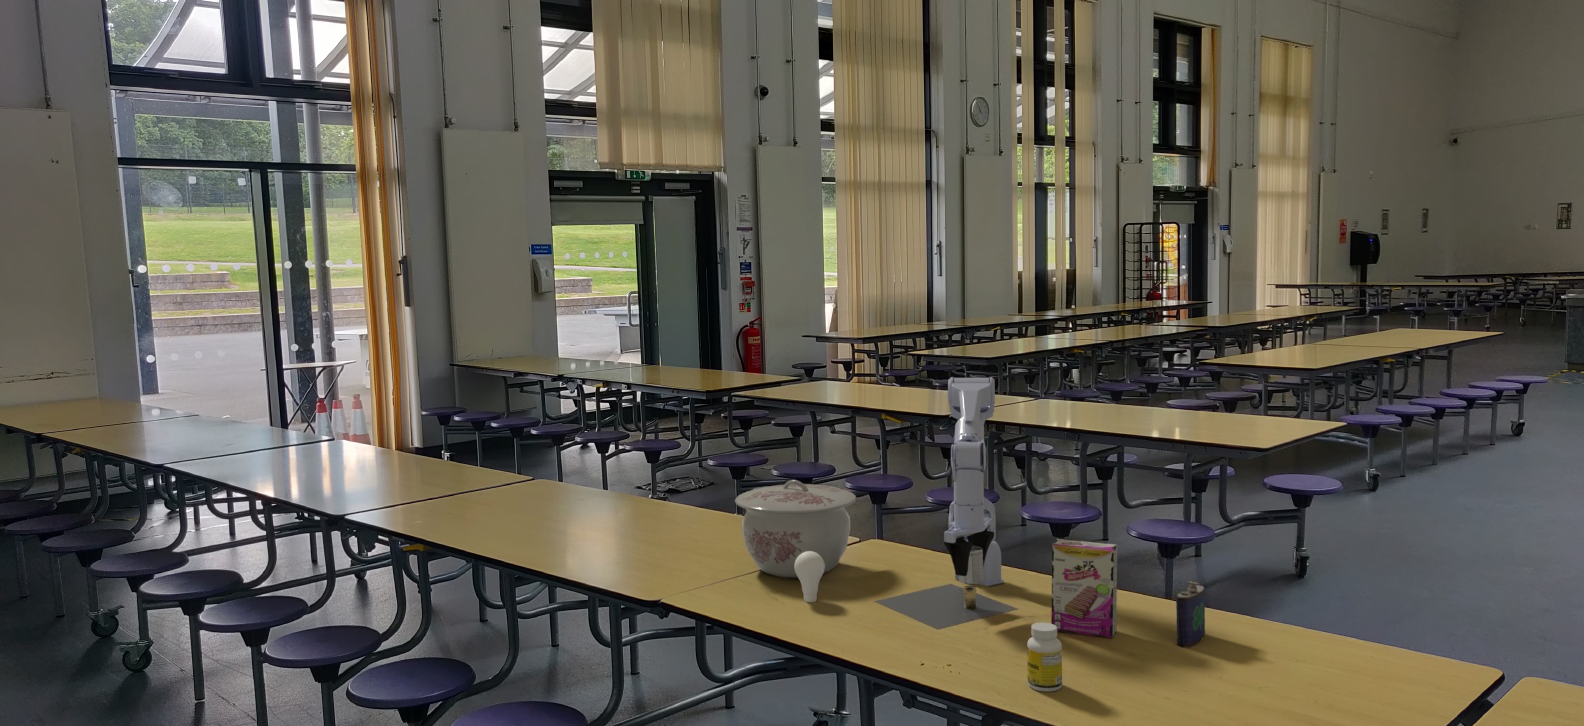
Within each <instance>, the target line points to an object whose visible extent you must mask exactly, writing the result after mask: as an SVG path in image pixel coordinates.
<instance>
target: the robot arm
mask: <svg viewBox="0 0 1584 726" xmlns="http://www.w3.org/2000/svg"><path fill="white" fill-rule="evenodd" d="M947 380H948V383H947V401H948V406H949V413H950V416H951V417H953V419H956V421H957V422H956V423H955V426H954V428H955V429H954V439H953V441H954V442H953V443H952V444H951V446H950V447H951V448H950V465H951V471H952V481H954V482H953V501H952V502H951V503H950V505H949V511H948V512H949V513H948V530H945V531H944V532H943V544H944V546H945V547H946V549H947V551H948V554H949V555H950V558H951V561H952V565H953V569H954V574H955V573H956V575H960V576H967V572H968V561H969V555H970V551H971V548H972V546H973V545H975V546H980V547H982V548H983V581H980V582H975V583H966V584H968V585H983V586H986V587H992V586H996V585H1000V584H1003V583H1005V580H1004V579H1002V551H1001V548H1000V545H999V544H998V542H996V540H995V539H996V538H997V536H996V534H997V533H996V532H997V530H996V529H997V528H996V507H995V505H994V503H992V502H991V501H990V500H989V499H987V497H985V492H984V491H985V490H984V488H985V487H984V483H985V482H984V481H985V479H984V478H985V477H984V476H985V474H984V472H985V471H986V467H987V456H986V455H987V451H986V449H987V448H986V443H985V426H984V425H985V423H986V420H988V419H991V418H993V417H994V413H995V403H996V396H995V395H996V393H995V392H996V391H995V389H996V388H995V386H996V385H995V379H994V377H993V376H989V377H954V376H951V377H950V378H949V379H947ZM962 583H963V584H965V583H964V582H961V584H962Z"/></svg>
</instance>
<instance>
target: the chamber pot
mask: <svg viewBox="0 0 1584 726" xmlns="http://www.w3.org/2000/svg"><path fill="white" fill-rule="evenodd" d="M856 498H857V496H856V495H855V493H853V492H851V491H850V490H847V489H843V488H840V487H836V486H833V485H832V486H831V485H826V484H825V485H824V484H812V483H802V482H801V481H800V480H797V479H789V480H787V481H786V483H784V484H776V485H771V486H770V485H769V486H762V487H759V488H758V487H756V488H752V489H751V490H748V491H745V492H742V493H741V494H738V496H737V497H736V498H735V499H734V502H735V504H736V505H737V506H738V507H740V508H743V509H745V514H744V516H743V517H742V520H741V533H742V537H743V541H744V546H745V549H746V550H747V552H748V554H749V555H750V557H751V559H752V560H753V561H754V563H755V565H756V567H757V568H759V570H761V572H764V573H766V574H769V575H771V576H774V577H775V576H776V577H778V578H787V579H799V578H798V576H797V574H796V572H795V569H794V565H795V561H796V559H797V557H798V556H799V555H800V554H802V553H803V552H806V551H813V552H816V553H817V554H819V555H820V556H821V557H822V559H823V561H824V564H825V569H824V572H823V574H825V573H827V572H830V571H831V570H833V569H834V568H835V567H836V566H837V565H838V564H839V562H840V560H841V558H842V556H843V555H844V553H845V552H846V550H847V547H848V544H849V542H848V541H849V538H850V531H851V517H850V514H849V513H848V511H847V510H846V507H848V506H850V505H851V504H853V503H854V502H856V500H857V499H856Z"/></svg>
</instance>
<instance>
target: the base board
mask: <svg viewBox="0 0 1584 726" xmlns="http://www.w3.org/2000/svg"><path fill="white" fill-rule="evenodd" d="M963 591H964V588H963V587H961V586H958V585H955V584H953V583H948V584H943V585H939V586H934V587H930V588H925V589H921V590H917V591H913V592H909V593H904V594H900V595H895V596H891V597H887V598H882V599H877V600H873V603H876V604H879V605H881V606H882V607H885V608H887V609H890V610H892V611H894V612H897V613H899V614H901V615H904V616H905V617H908V618H911V619H913V620H915V621H918V622H920V623H922V624H924V625H926V626H929V627H931V628H933V629H936V630H942V629H946V628H949V627H953V626H957V625H961V624H965V623H969V622H972V621H977V620H981V619H984V618H988V617H993V616H996V615H1000V614H1004V613H1008V612H1011V611H1016V610H1018V608H1017V607H1014V606H1012V605H1008V604H1006V603H1003V602H1001V601H999V600H995V599H992V598H990V597H988V596H986V595H982V594H979V593H977V592H976V608H975V609H965V608H964V594H963Z"/></svg>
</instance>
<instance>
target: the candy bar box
mask: <svg viewBox="0 0 1584 726" xmlns="http://www.w3.org/2000/svg"><path fill="white" fill-rule="evenodd" d="M1117 581H1118V544H1115V543H1104V542H1103V543H1102V542H1092V541H1085V540H1084V541H1083V540H1073V539H1072V540H1071V539H1062V538H1056V540H1055V541H1054V542H1052V547H1051V621H1050V624H1053V625H1055V626H1056V627H1057V632H1062V633H1068V634H1069V633H1070V634H1076V635H1077V634H1078V635H1085V636H1091V637H1092V636H1093V637H1101V638H1108V639H1109V638H1110V639H1113V638H1114V635H1115V633H1116V631H1117V619H1118V618H1117V607H1118V606H1117V604H1118V603H1117V601H1118V600H1117V599H1118V598H1117V597H1118V595H1117V593H1118V589H1117V588H1118V582H1117Z"/></svg>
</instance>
